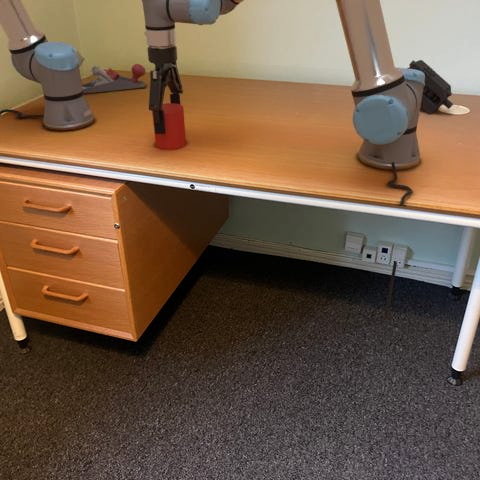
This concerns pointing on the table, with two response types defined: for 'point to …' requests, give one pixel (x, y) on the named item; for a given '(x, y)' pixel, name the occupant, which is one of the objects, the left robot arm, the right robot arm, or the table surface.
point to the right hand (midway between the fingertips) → (168, 125)
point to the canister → (172, 127)
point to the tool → (432, 88)
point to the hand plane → (112, 79)
